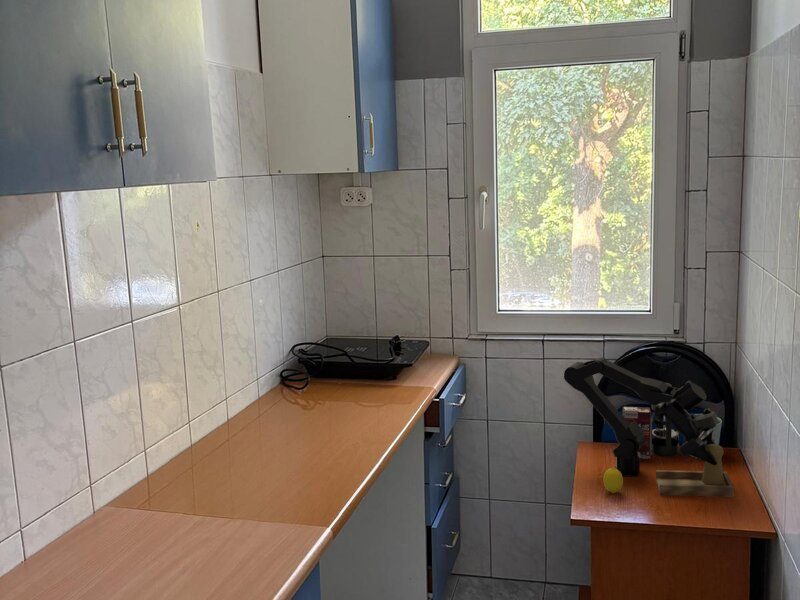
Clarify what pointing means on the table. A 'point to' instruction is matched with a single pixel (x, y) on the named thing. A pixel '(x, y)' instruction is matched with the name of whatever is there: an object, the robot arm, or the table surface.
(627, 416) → the supplement box
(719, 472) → the olive pawn figure
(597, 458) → the table surface
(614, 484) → the lemon
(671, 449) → the french press
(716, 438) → the pale green plant pot
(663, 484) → the track
